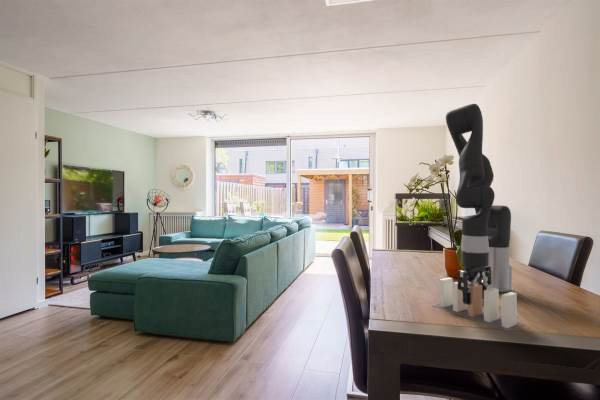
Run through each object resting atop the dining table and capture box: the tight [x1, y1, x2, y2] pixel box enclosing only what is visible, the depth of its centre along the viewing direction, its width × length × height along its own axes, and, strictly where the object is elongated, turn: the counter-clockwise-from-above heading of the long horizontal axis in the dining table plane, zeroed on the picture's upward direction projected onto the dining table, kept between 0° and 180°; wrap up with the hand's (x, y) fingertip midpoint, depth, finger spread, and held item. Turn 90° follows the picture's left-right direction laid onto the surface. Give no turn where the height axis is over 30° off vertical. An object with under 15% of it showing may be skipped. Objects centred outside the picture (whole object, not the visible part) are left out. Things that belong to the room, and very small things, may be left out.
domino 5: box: [501, 291, 518, 328], centre depth 92 cm, size 2×5×9 cm, turn 121°
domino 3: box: [467, 284, 483, 317], centre depth 101 cm, size 2×5×9 cm, turn 121°
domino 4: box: [483, 288, 500, 322], centre depth 96 cm, size 2×5×9 cm, turn 121°
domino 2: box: [453, 281, 468, 312], centre depth 105 cm, size 2×5×9 cm, turn 121°
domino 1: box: [438, 276, 454, 307], centre depth 109 cm, size 2×5×9 cm, turn 121°
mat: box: [432, 303, 526, 332], centre depth 101 cm, size 24×9×1 cm, turn 31°
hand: (474, 301), depth 101 cm, fingers open, 8 cm apart
